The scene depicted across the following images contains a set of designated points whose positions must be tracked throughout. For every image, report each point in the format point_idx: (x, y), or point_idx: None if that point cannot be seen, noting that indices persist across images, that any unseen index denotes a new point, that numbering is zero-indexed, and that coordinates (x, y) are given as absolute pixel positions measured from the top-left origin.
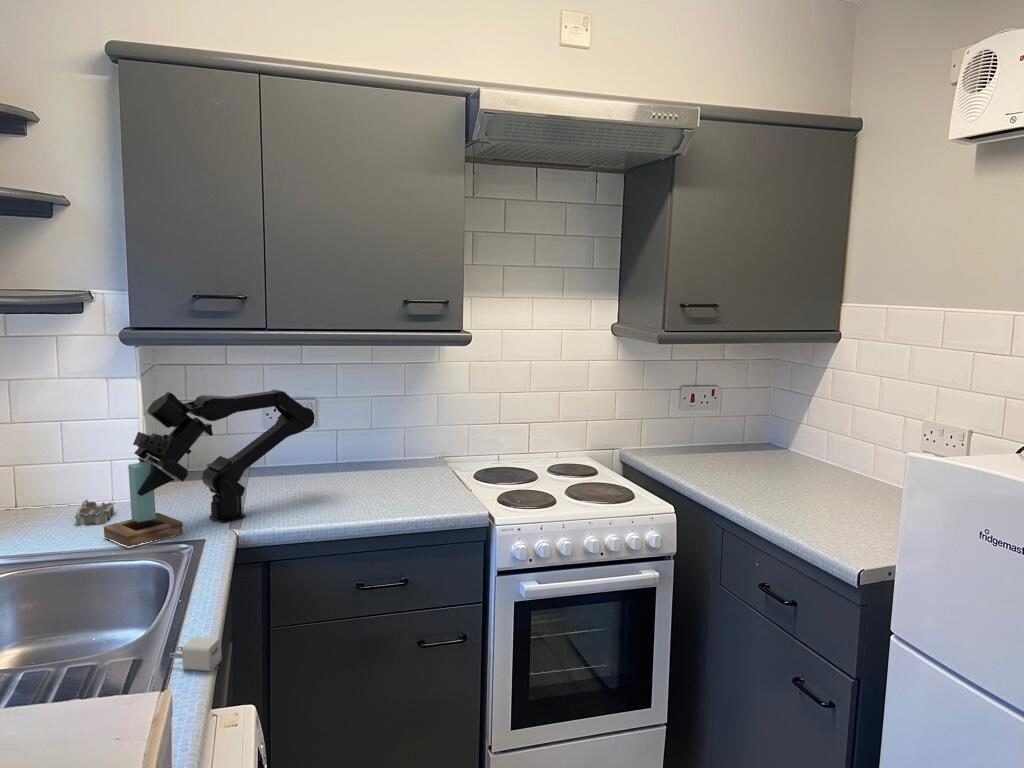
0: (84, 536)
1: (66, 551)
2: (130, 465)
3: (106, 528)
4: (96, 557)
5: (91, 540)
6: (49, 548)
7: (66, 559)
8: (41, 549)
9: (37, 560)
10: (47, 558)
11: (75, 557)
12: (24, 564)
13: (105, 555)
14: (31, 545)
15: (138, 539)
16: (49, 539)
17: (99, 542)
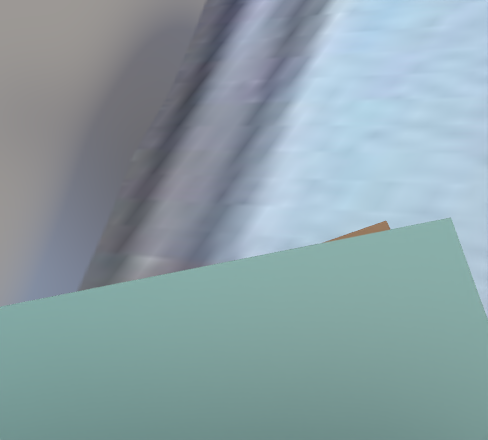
0: (463, 168)
1: (281, 107)
2: (290, 265)
3: (353, 233)
4: (141, 199)
5: (381, 193)
6: (355, 56)
7: (188, 109)
8: (357, 34)
9: (236, 33)
10: (238, 57)
11: (190, 135)
12: (220, 5)
13: (142, 230)
14: (429, 3)
15: None
16: (484, 49)
17: (331, 221)
